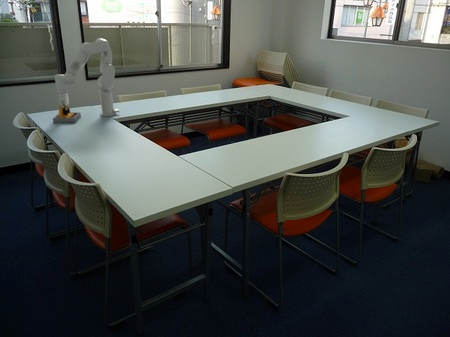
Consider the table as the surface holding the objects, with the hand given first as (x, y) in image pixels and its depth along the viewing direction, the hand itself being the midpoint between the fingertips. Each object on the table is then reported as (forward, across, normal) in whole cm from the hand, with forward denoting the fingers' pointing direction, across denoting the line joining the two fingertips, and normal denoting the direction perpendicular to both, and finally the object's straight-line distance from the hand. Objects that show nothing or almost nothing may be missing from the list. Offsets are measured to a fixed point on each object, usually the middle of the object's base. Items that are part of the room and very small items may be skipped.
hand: (66, 113), depth 285 cm
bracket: (+4, 0, 0) cm, 4 cm away
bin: (+5, 0, 0) cm, 5 cm away
